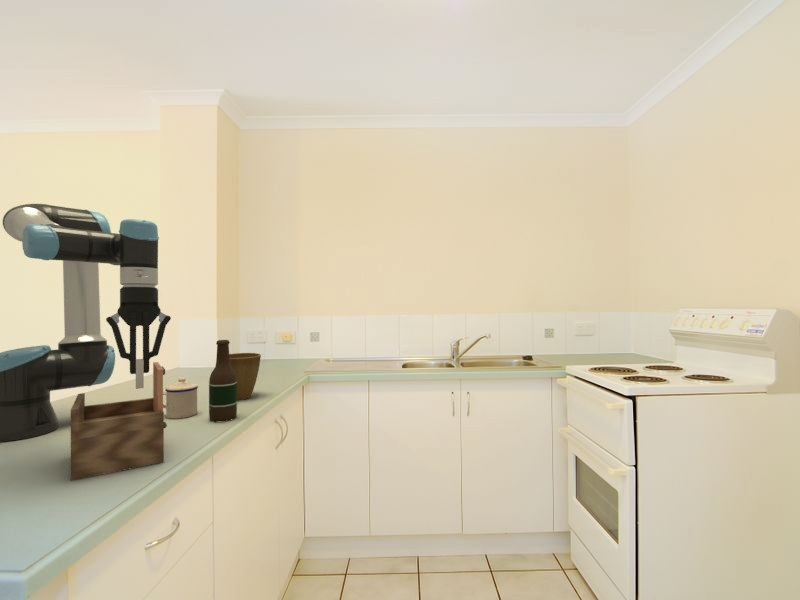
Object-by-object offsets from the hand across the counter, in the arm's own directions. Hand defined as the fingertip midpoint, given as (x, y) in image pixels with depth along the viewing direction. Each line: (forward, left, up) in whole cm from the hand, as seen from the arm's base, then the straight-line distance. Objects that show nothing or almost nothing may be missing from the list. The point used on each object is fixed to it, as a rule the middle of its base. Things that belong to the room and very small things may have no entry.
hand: (139, 387), depth 94 cm
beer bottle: (+22, +20, -16) cm, 34 cm away
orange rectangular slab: (+4, 0, -8) cm, 9 cm away
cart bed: (-4, 0, -16) cm, 16 cm away
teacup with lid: (+11, +33, -16) cm, 38 cm away
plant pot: (+33, +46, -16) cm, 59 cm away
